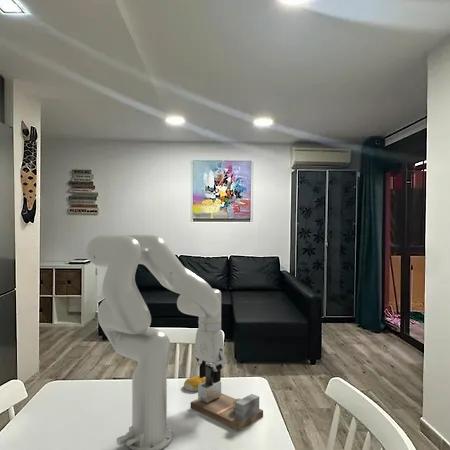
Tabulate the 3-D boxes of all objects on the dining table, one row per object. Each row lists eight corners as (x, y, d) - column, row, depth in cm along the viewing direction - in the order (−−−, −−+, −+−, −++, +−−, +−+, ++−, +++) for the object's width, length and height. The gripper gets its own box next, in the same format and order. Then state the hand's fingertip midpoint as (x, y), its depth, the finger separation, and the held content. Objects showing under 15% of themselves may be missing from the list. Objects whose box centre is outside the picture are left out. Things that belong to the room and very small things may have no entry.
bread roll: (212, 386, 150) (212, 376, 150) (195, 394, 143) (195, 383, 143) (197, 380, 156) (197, 370, 155) (180, 387, 149) (180, 376, 149)
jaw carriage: (206, 402, 131) (206, 370, 130) (198, 399, 133) (198, 366, 133) (221, 396, 136) (221, 364, 136) (212, 392, 138) (212, 361, 138)
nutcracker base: (238, 431, 118) (238, 407, 118) (190, 408, 132) (190, 387, 132) (263, 416, 127) (263, 394, 127) (215, 396, 141) (215, 376, 141)
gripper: (184, 323, 137) (184, 375, 138) (220, 333, 126) (220, 390, 126) (200, 319, 143) (200, 369, 143) (236, 328, 131) (236, 383, 131)
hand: (209, 378), depth 134 cm, fingers open, 5 cm apart
